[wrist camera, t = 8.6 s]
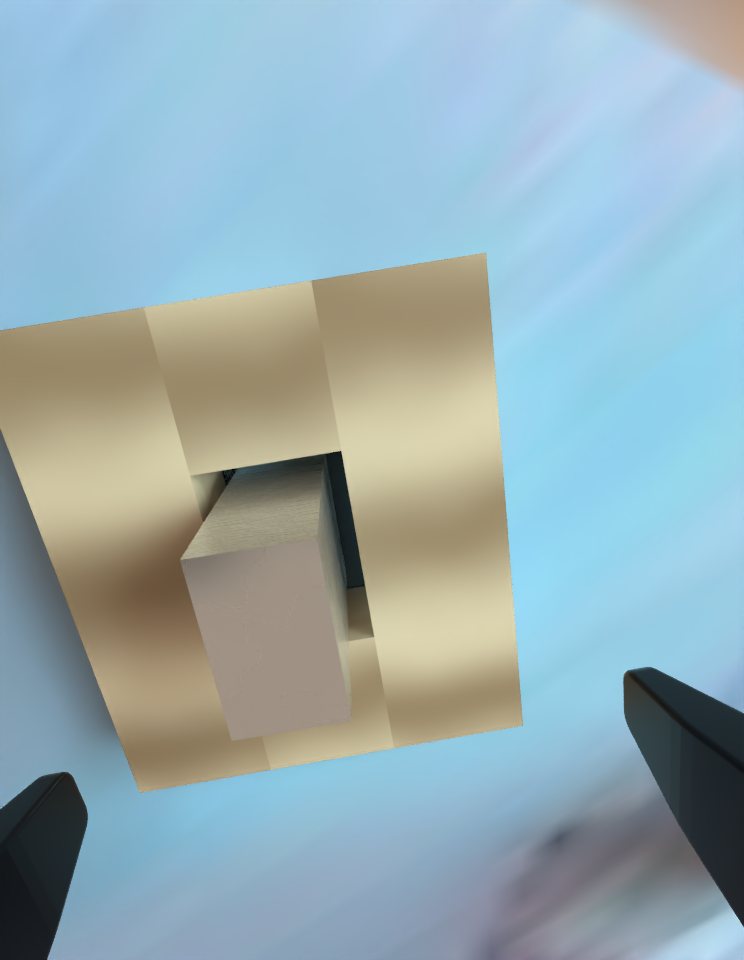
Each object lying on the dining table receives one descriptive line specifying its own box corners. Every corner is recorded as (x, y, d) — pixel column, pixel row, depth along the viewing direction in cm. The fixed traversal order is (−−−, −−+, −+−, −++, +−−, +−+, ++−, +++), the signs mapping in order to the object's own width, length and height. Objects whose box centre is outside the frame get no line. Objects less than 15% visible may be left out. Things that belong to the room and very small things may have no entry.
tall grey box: (346, 570, 21) (351, 721, 13) (270, 582, 20) (231, 741, 13) (324, 448, 19) (316, 538, 11) (242, 460, 19) (180, 560, 11)
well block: (494, 663, 22) (522, 725, 19) (169, 720, 22) (139, 793, 19) (456, 264, 17) (485, 252, 14) (36, 331, 17) (-36, 336, 14)
